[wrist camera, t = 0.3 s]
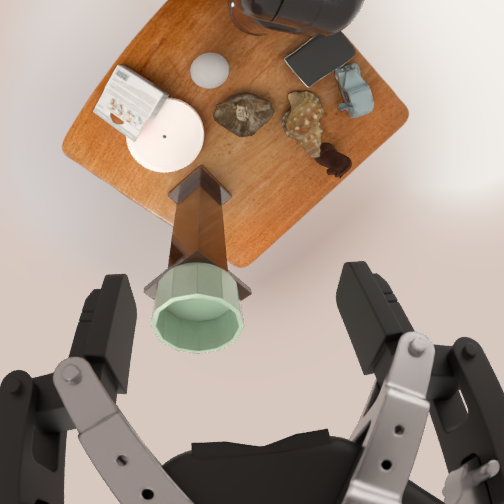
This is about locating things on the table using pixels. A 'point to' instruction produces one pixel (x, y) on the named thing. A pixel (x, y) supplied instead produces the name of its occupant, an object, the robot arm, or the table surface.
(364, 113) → the toy car
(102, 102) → the ink box
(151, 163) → the plastic lid
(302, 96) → the seashell
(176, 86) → the table surface
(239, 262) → the table surface
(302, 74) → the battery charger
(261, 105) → the fossilized seashell
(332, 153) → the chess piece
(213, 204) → the green pedestal cup
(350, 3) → the robot arm
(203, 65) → the light bulb
